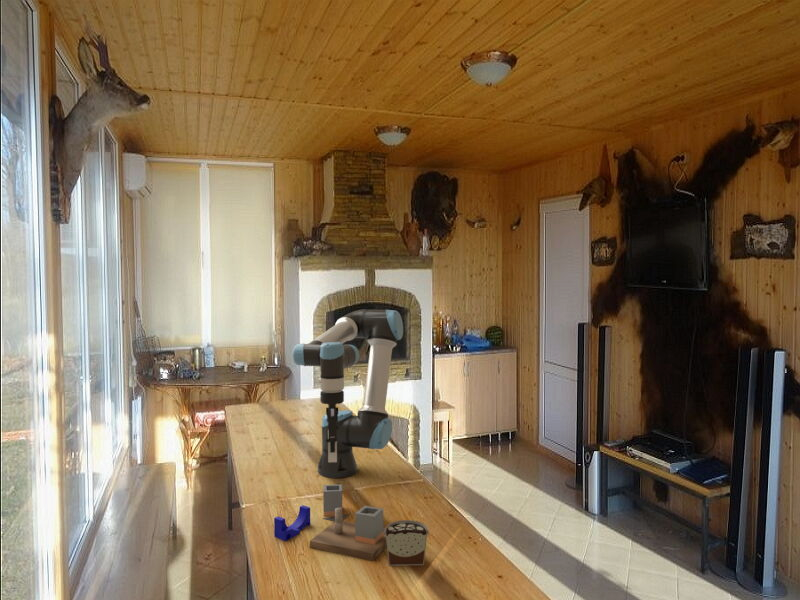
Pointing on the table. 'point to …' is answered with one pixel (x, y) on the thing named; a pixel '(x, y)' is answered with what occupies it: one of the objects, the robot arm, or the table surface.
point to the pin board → (346, 540)
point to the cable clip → (289, 532)
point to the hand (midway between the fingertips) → (332, 455)
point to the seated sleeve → (369, 525)
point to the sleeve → (332, 498)
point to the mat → (334, 517)
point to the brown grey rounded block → (406, 542)
